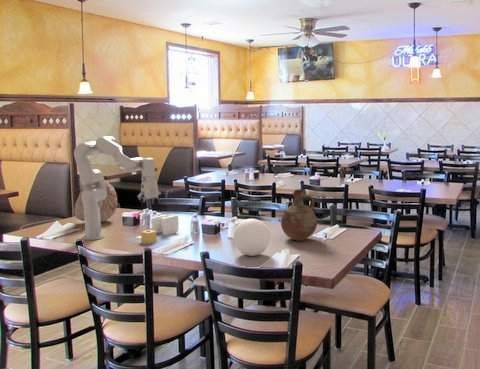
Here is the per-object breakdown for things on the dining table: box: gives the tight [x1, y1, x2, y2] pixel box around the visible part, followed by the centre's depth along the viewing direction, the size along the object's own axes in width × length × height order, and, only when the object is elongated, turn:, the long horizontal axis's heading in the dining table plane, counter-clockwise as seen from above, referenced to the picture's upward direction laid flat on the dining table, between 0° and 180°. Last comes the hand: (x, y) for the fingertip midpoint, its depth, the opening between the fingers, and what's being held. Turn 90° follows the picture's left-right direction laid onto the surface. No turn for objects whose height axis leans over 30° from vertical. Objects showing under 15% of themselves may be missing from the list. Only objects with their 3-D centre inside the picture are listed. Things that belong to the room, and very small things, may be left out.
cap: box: [140, 229, 157, 244], centre depth 304 cm, size 6×6×7 cm
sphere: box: [232, 218, 271, 257], centre depth 276 cm, size 20×20×20 cm
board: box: [124, 235, 170, 246], centre depth 310 cm, size 22×18×5 cm
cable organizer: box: [150, 213, 179, 236], centre depth 328 cm, size 15×11×12 cm
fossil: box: [74, 180, 119, 223], centre depth 363 cm, size 31×26×30 cm
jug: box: [280, 189, 318, 242], centre depth 308 cm, size 22×22×30 cm
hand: (150, 207), depth 304 cm, fingers open, 9 cm apart
